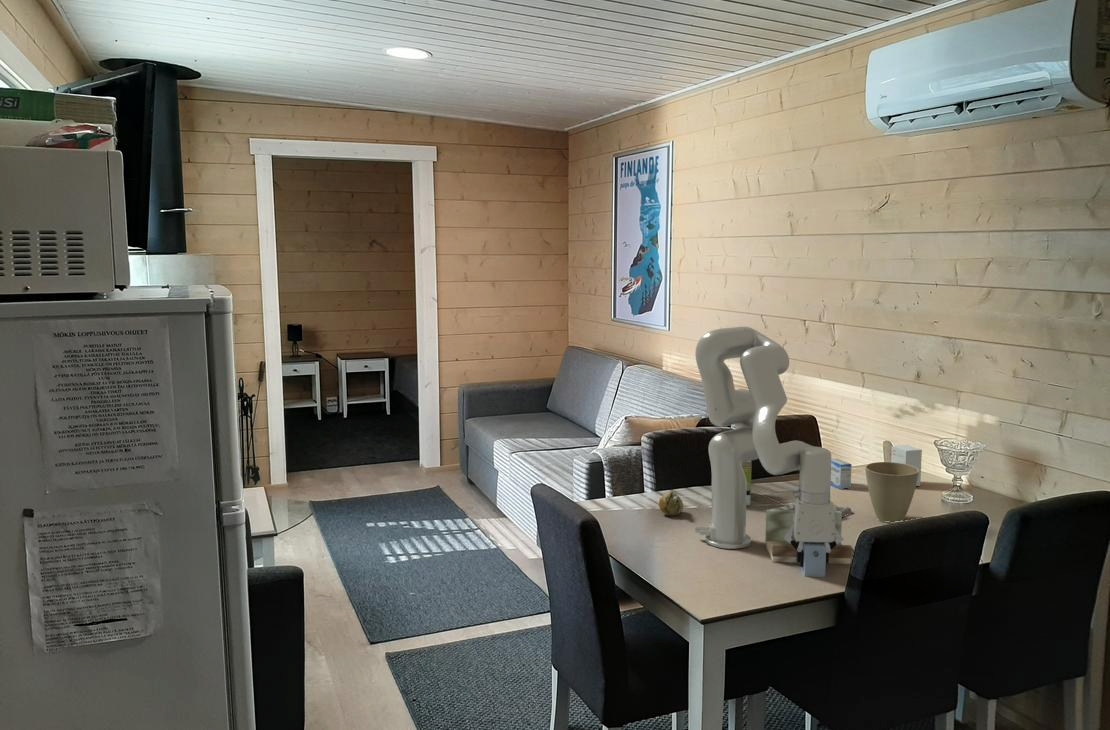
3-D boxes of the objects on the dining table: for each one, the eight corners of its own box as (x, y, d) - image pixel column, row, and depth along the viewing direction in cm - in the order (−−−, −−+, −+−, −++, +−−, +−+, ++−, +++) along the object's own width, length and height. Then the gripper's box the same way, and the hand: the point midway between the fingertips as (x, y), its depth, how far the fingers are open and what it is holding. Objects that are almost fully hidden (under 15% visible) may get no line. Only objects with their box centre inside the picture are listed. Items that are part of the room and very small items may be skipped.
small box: (920, 486, 281) (922, 449, 279) (904, 488, 279) (906, 450, 277) (905, 480, 288) (907, 444, 286) (889, 481, 287) (891, 445, 285)
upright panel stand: (772, 561, 216) (773, 525, 215) (765, 544, 229) (766, 509, 228) (851, 563, 214) (852, 526, 213) (839, 545, 227) (840, 510, 226)
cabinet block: (805, 577, 206) (806, 546, 205) (799, 565, 214) (800, 536, 212) (825, 577, 206) (826, 547, 204) (819, 566, 213) (820, 536, 212)
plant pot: (878, 508, 258) (880, 459, 256) (925, 519, 247) (927, 468, 245) (853, 519, 249) (855, 468, 246) (901, 531, 238) (904, 477, 235)
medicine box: (825, 483, 286) (826, 459, 285) (836, 482, 288) (837, 458, 286) (839, 489, 279) (840, 464, 278) (851, 488, 280) (852, 463, 279)
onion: (688, 513, 257) (689, 488, 255) (675, 520, 250) (675, 494, 249) (667, 508, 261) (668, 484, 260) (654, 515, 255) (654, 490, 254)
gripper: (782, 500, 204) (780, 570, 207) (853, 501, 203) (850, 572, 205) (777, 491, 212) (775, 559, 214) (845, 492, 210) (843, 560, 213)
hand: (812, 564), depth 210 cm, fingers closed on cabinet block, 5 cm apart
